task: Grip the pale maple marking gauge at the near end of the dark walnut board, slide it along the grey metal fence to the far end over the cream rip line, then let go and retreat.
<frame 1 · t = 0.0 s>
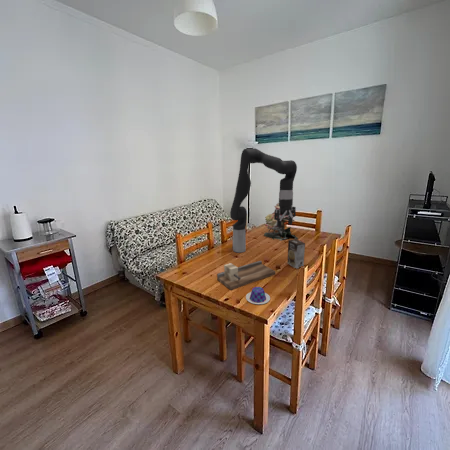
hand: (284, 225, 142), 29 cm above the table, fingers open, 8 cm apart
pudding: (257, 299, 124), on the table
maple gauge: (231, 277, 141), point 2 cm above the table, touching walnut board
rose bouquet: (278, 236, 217), on the table
walnut board: (246, 276, 145), on the table
coffee box: (295, 265, 159), on the table
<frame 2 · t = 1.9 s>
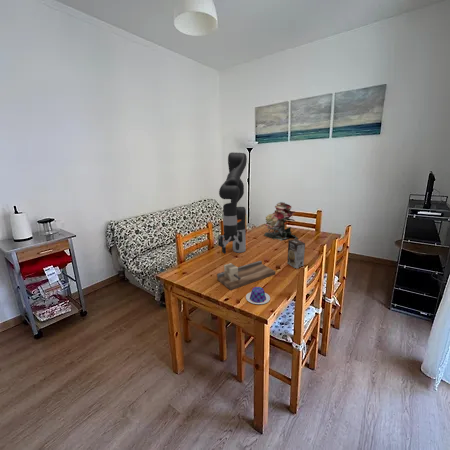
hand: (230, 251, 137), 18 cm above the table, fingers open, 8 cm apart
nothing on the table moved.
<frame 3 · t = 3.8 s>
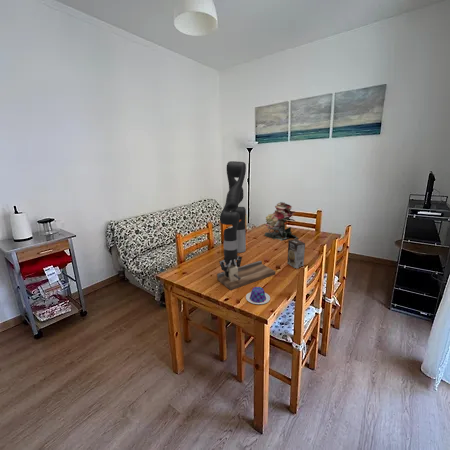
hand: (231, 275, 140), 3 cm above the table, fingers closed on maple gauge, 4 cm apart
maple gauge: (231, 277, 141), point 2 cm above the table, touching gripper, walnut board
everything else where it was.
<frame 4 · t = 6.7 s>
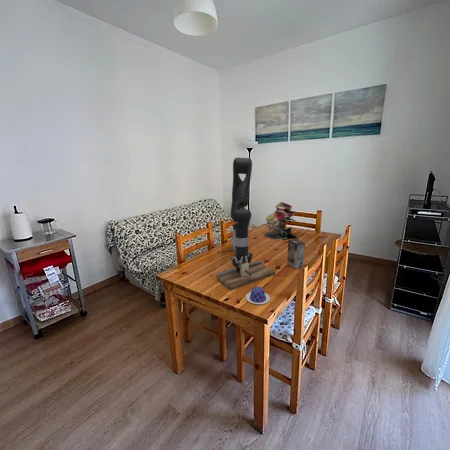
hand: (242, 271, 145), 3 cm above the table, fingers closed on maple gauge, 4 cm apart
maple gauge: (242, 273, 145), point 2 cm above the table, touching gripper
everything else where it was.
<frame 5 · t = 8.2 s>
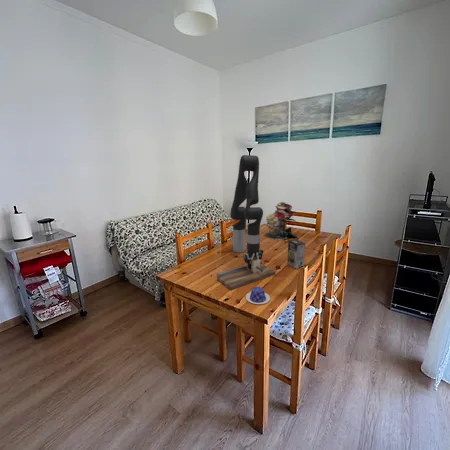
hand: (253, 267, 149), 4 cm above the table, fingers closed on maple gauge, 4 cm apart
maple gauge: (253, 269, 149), point 2 cm above the table, touching gripper
everything else where it was.
when the fingers open (4 cm above the table, at t = 9.6 s): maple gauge stays where it is, resting on walnut board.
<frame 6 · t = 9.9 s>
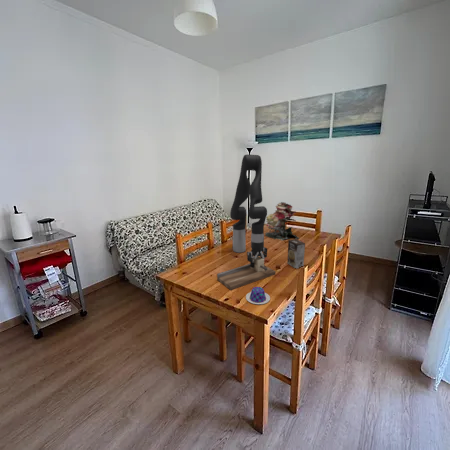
hand: (257, 265, 150), 4 cm above the table, fingers open, 6 cm apart
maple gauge: (257, 268, 151), point 2 cm above the table, touching walnut board
everything else where it was.
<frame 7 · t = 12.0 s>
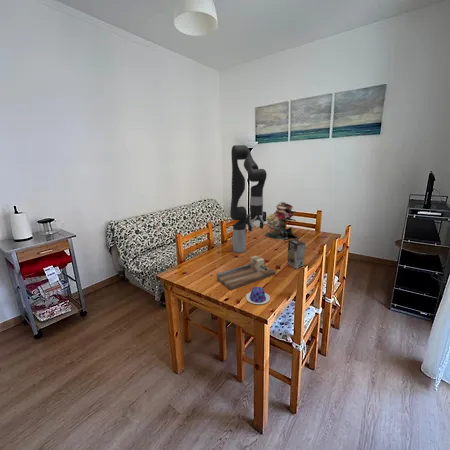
hand: (255, 229, 151), 25 cm above the table, fingers open, 8 cm apart
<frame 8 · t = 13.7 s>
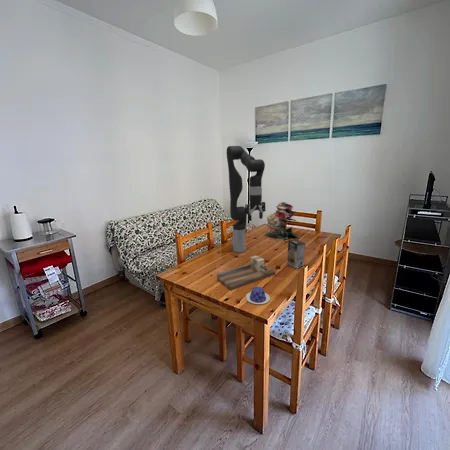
hand: (255, 219, 154), 30 cm above the table, fingers open, 8 cm apart
at the end: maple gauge 0.0 cm from the target spot on the walnut board, point 2.0 cm above the walnut board's base; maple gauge tilted 0°; the gripper is holding nothing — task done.
